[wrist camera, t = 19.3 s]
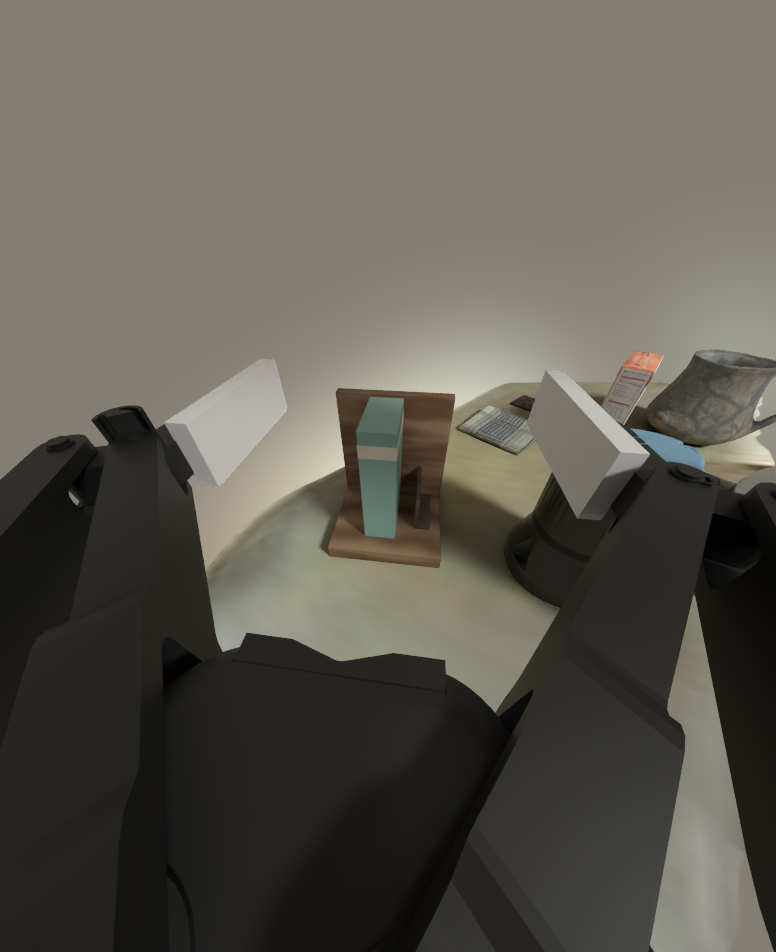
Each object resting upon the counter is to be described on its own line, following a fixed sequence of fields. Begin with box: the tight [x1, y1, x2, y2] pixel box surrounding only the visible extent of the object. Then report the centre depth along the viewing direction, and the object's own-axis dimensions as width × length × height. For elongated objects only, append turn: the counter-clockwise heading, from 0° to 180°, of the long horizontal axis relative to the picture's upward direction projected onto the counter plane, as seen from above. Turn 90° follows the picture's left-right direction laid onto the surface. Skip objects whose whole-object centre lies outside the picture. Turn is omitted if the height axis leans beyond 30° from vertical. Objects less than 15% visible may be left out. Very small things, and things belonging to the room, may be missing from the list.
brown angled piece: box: [328, 388, 455, 568], centre depth 45 cm, size 18×18×22 cm
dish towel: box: [458, 405, 536, 455], centre depth 77 cm, size 19×18×3 cm
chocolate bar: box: [511, 395, 535, 411], centre depth 87 cm, size 9×1×18 cm
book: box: [356, 397, 404, 539], centre depth 43 cm, size 5×10×20 cm, turn 173°
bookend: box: [414, 466, 430, 530], centre depth 48 cm, size 9×3×7 cm, turn 173°
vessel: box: [646, 350, 776, 446], centre depth 69 cm, size 22×22×20 cm
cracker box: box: [601, 351, 663, 425], centre depth 66 cm, size 14×6×21 cm, turn 137°
